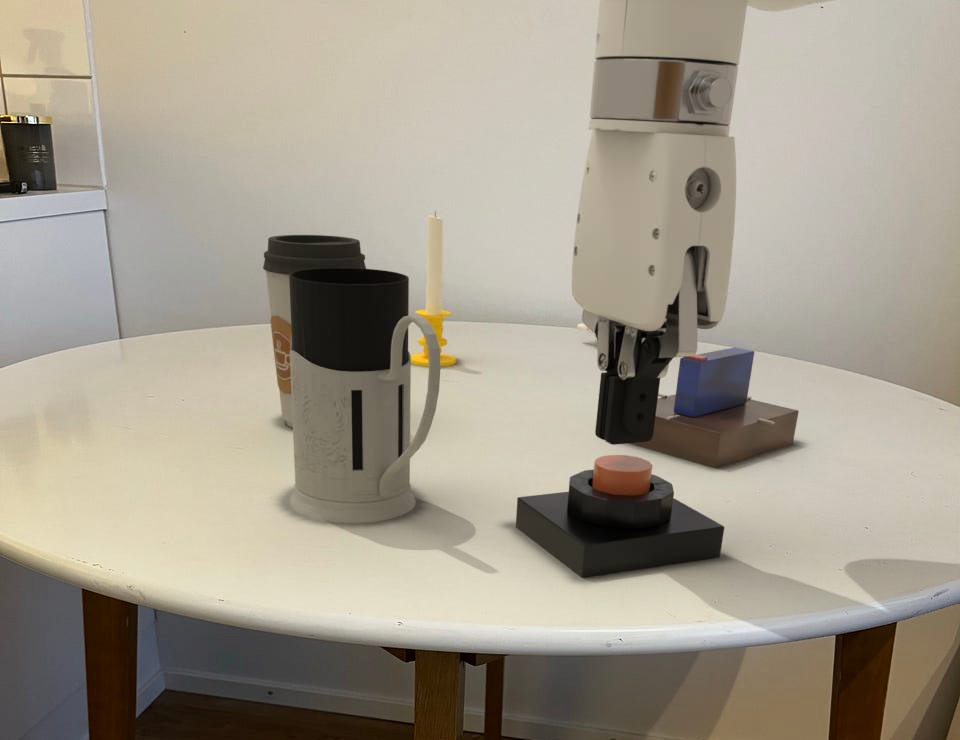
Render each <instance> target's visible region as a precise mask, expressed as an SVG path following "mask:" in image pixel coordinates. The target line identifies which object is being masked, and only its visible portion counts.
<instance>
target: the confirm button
mask: <svg viewBox="0 0 960 740" xmlns="http://www.w3.org/2000/svg"><path fill="white" fill-rule="evenodd" d="M593 470H594V473H593V483H592V487H593V488H594V489H596V490H597V491H601V492H605V493H609V494H616V495H630V496H634V495H643V494H647V493H649V491H650V483H651V474H652V473H653V464H652V463H651V462H650V461H649V460H647V459H644V458H641V457H638V456H634V455H626V454H609V455H607V454H606V455H602V456H599V457H597V458H596V459H595V460H594V464H593ZM652 475H653V474H652Z"/></svg>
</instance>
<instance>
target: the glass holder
mask: <svg viewBox="0 0 960 740" xmlns="http://www.w3.org/2000/svg"><path fill="white" fill-rule="evenodd" d="M289 284H290V308H291V331H292V333H291V337H290V372H291V395H292V418H293V428H292V437H293V438H292V440H293V461H294V482H295V483H294V485H293V486H294V487H293V488H294V489H293V491H292V493H291V496H290V498H289V505H290V507H291V508H292V510H294V511H295V512H296V513H298V514H300V515H302V516H305V517H307V518H311V519H313V520H317V521H318V520H319V521H324V522H331V523H341V524H364V523H365V524H366V523H367V524H368V523H377V522H382V521H388V520H391V519H395V518H398V517H401V516H404V515H405V514H407V513H409V512H411V511H412V510H413V509H414V508H415V506H416V505H417V504H416V502H417V501H416V498H415V495H414V493H413V491H412V486H411V482H410V481H411V479H410V478H411V476H410V475H411V459H412V458H413V456H414V455H415V454H416V453H417V452H418V451H419V450H420V448H421V447H422V445H424V443H425V442H426V440H427V438H428V434H429V433H430V430H431V427H432V424H433V422H434V417H435V414H436V410H437V405H438V400H439V392H440V385H441V383H440V381H441V368H442V367H441V366H440V348H439V344H438V340H437V336H436V333H435V331H434V330H433V328H432V326H431V324H430V323H429V322H428V321H427V320H426V319H425V318H423V317H422V316H420V315H419V314H409V313H410V311H409V308H410V307H409V304H410V303H409V301H410V295H409V293H410V278H409V276H408V275H406V274H403V273H400V272H396V271H391V270H382V269H375V268H366V269H362V268H316V269H305V270H299V271H295V272H292V273H290V274H289ZM412 323H414V324H415V325H416V326H417V327H418V328H419V329H420V331H421V333H422V335H423V337H424V336H425V339H426V343H427V347H428V358H429V366H428V375H427V391H426V395H425V396H426V397H425V403H424V409H423V411H422V415H421V418H420V422H419V424H418V428H417V429H416V433H415V435H414V436H413V439H412V440H411V390H412V389H411V383H412V381H411V380H412V377H411V375H412V373H411V372H412V363H411V352H410V351H409V326H410V325H411V324H412Z"/></svg>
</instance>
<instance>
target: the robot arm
mask: <svg viewBox="0 0 960 740" xmlns="http://www.w3.org/2000/svg"><path fill="white" fill-rule="evenodd" d="M833 1H835V0H599V6H598V16H597V17H598V18H597V28H596V38H595V39H596V40H595V52H594V64H593V75H592V87H591V88H592V89H591V97H590V99H591V100H590V112H589V121H588V130H592V131H591V137H590V141H589V144H588V149H587V154H586V160H585V165H584V168H583V169H584V170H583V175H582V183H581V188H580V193H579V194H580V195H579V201H578V210H577V216H576V222H575V224H576V226H575V232H574V240H573V241H574V242H573V252H572V264H571V267H572V268H571V294H572V297H573V299H574V300H575V302H576V303H577V305H578V306H579V307H581V308H582V309H583V310H582V315H581V320H582V323H584V324H585V325H586V326H587V327H588V328H589V329H590V330H591V331H592V332H593V333H594V334H596V337H595V338H596V342H597V349H596V351H597V355H596V356H597V357H596V363H597V368H598V370H599V371H601V372H600V381H599V390H598V391H599V392H598V401H597V403H598V404H597V411H596V420H595V429H594V434H595V436H596V437H597V438H598V439H599V440H603V441H605V442H606V443H608V444H610V445H611V446H612V445H613V446H614V445H624V444H626V445H627V444H629V443H638V442H648V441H650V440H651V439H652V437H653V432H654V424H655V416H656V408H657V401H658V398H659V396H658V393H659V394H660V383H661V379H663V378H665V377H666V376H667V374H668V370H669V366H670V363H671V362H672V360H673V359H674V358H682V357H687V356H693V355H695V354H697V351H698V329H699V330H712V329H714V328H717V327H718V326H719V325H720V324H721V323H722V321H723V318H724V314H725V311H726V306H727V299H728V293H729V283H730V275H731V269H732V268H731V267H732V257H733V248H734V236H735V235H734V234H735V222H736V206H737V157H736V156H737V155H736V141H735V140H736V139H735V136H730V129H731V120H732V115H733V114H732V113H733V106H734V99H735V93H736V86H737V78H738V71H739V65H740V57H741V50H742V45H743V36H744V31H745V24H746V23H745V22H746V14H747V9H748V7H750V8H753V9H756V10H760V11H764V12H782V11H789V10H793V9H798V8H801V7H805V6H809V5H813V4H815V5H816V4H817V5H818V4H823V3H828V2H833Z"/></svg>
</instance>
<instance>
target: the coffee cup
mask: <svg viewBox="0 0 960 740" xmlns="http://www.w3.org/2000/svg"><path fill="white" fill-rule="evenodd" d="M267 241H268V242H267V250H265V251H264V252H263V258H264V262H263V267H262V269H263V270H264V271H265V277H266V285H267V293H268V303H269V312H270V321H269V322H270V329H271V338H272V347H273V356H274V365H275V372H276V374H275V375H276V381H277V387H278V391H279V399H280V400H279V401H280V409H281V417H282V419H283V420H284V421H285V424H286V425H287V426H288V427H290V428H292V429H293V418H292V395H291V372H290V337H291V333H292V331H291V308H290V284H289V274H290V273H292V272H295V271H299V270H305V269H316V268H362V269H367V267H366V263H365V262H366V261H365V260H366V255H365V254H364V253H362V250H361V249H362V248H361V241H360V240H359V239H357V238H353V237H347V236H337V235H325V234H324V235H323V234H284V235H274V236H270V237H268V238H267Z"/></svg>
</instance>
